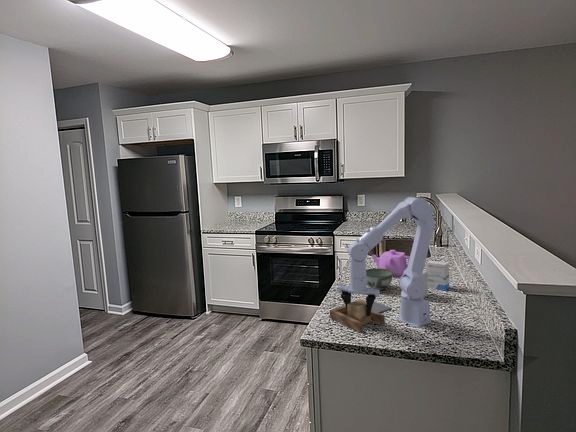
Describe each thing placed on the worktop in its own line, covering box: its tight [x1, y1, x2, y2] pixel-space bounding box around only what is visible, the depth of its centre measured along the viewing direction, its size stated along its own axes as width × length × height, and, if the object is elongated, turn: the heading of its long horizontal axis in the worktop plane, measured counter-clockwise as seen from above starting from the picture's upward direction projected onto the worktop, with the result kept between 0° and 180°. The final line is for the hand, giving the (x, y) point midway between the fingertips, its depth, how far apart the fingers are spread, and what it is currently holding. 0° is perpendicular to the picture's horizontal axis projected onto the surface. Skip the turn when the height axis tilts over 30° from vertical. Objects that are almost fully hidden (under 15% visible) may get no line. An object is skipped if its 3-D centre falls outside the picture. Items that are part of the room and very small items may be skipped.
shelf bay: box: [329, 305, 386, 333], centre depth 130 cm, size 16×12×3 cm
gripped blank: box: [347, 298, 372, 326], centre depth 128 cm, size 5×7×7 cm
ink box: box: [425, 260, 450, 292], centre depth 161 cm, size 9×5×12 cm, turn 47°
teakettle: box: [371, 249, 410, 277], centre depth 187 cm, size 17×17×12 cm
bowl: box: [366, 267, 394, 292], centre depth 163 cm, size 14×13×8 cm
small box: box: [422, 269, 429, 299], centre depth 152 cm, size 8×6×10 cm
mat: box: [371, 301, 392, 314], centre depth 141 cm, size 10×10×1 cm
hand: (358, 313), depth 128 cm, fingers open, 7 cm apart
